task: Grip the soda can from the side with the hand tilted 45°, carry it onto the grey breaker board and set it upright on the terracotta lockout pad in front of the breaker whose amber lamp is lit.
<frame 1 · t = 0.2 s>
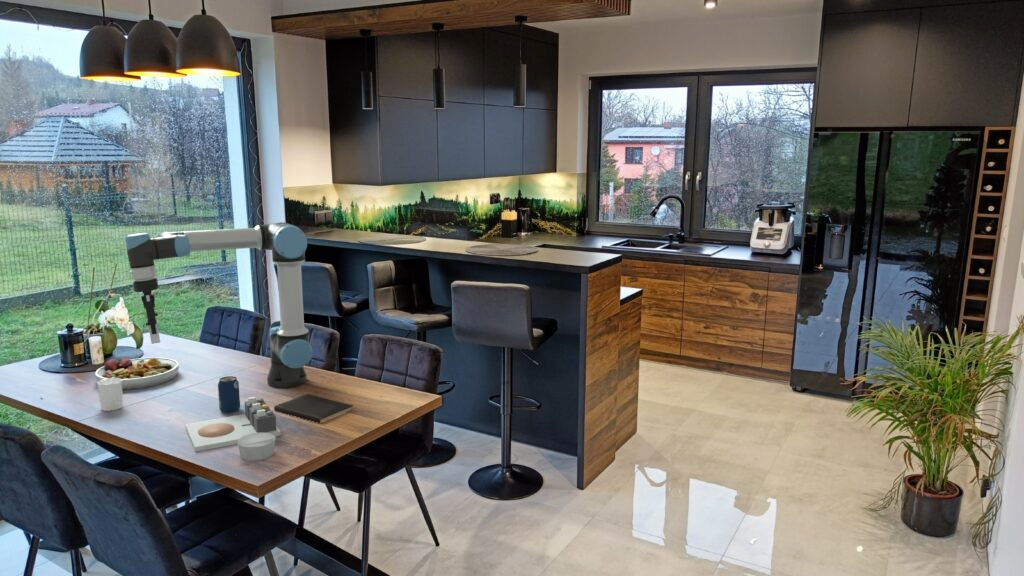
hand: (155, 339, 251), 27 cm above the table, tool pointing down, fingers open, 13 cm apart
bowl: (138, 380, 293), on the table
soda can: (230, 411, 259), on the table
breaker board: (232, 431, 240), on the table
white cup: (112, 408, 261), on the table
ramekin: (257, 456, 222), on the table
hardcover book: (313, 412, 260), on the table
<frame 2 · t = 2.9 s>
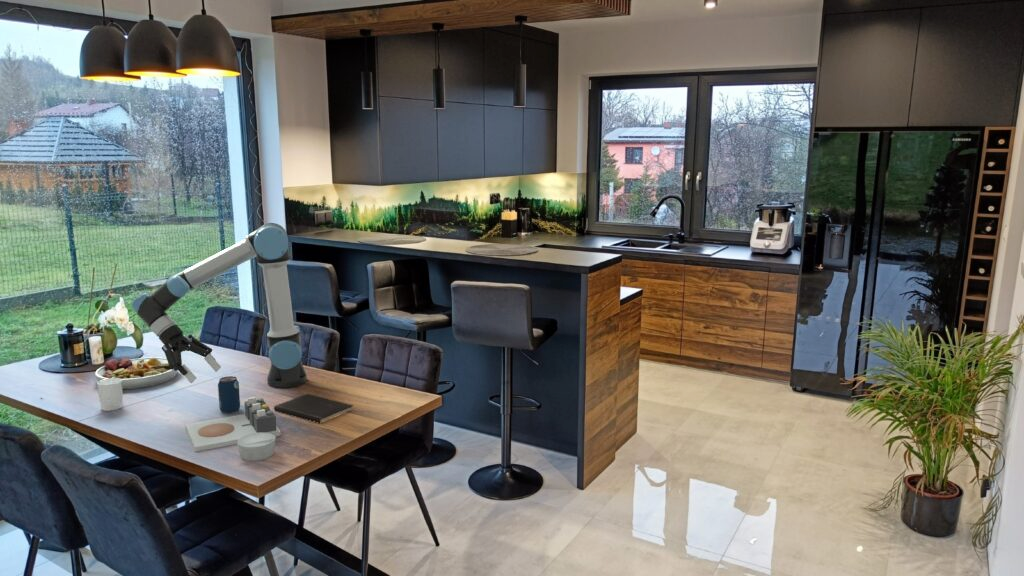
hand: (206, 374, 258), 13 cm above the table, tool tilted 45°, fingers open, 13 cm apart
nothing on the table moved.
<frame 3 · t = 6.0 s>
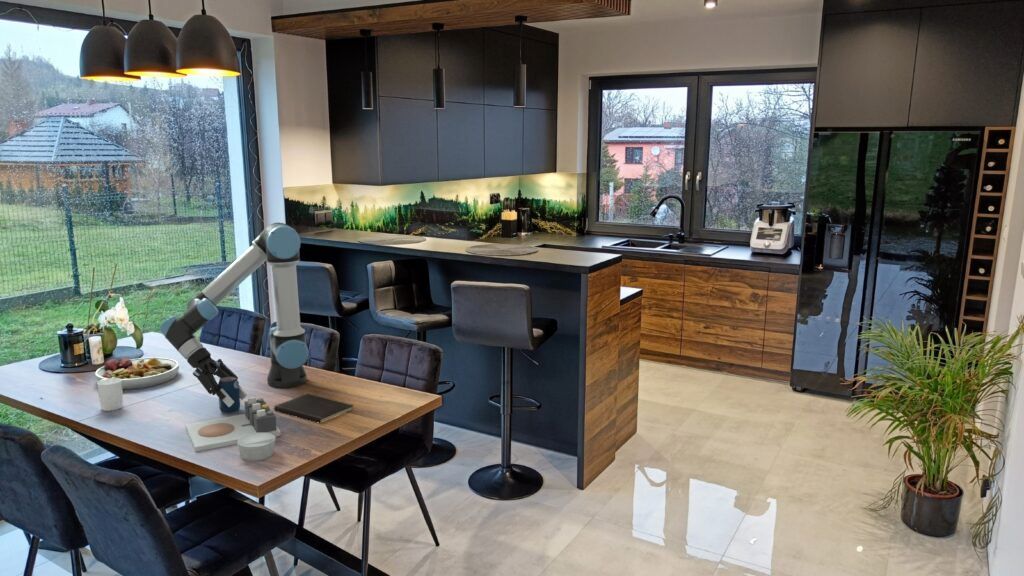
hand: (238, 401, 257), 4 cm above the table, tool tilted 45°, fingers closed on soda can, 7 cm apart
soda can: (230, 411, 259), on the table, touching gripper
everything else where it was.
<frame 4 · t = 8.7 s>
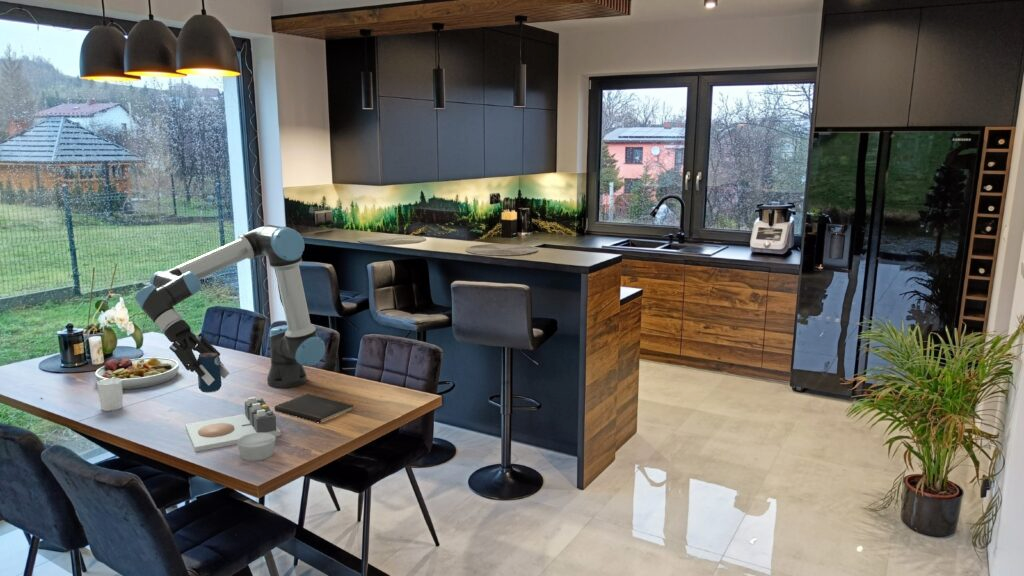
hand: (219, 379, 234), 19 cm above the table, tool tilted 45°, fingers closed on soda can, 7 cm apart
soda can: (210, 390, 236), point 15 cm above the table, touching gripper
everything else where it was.
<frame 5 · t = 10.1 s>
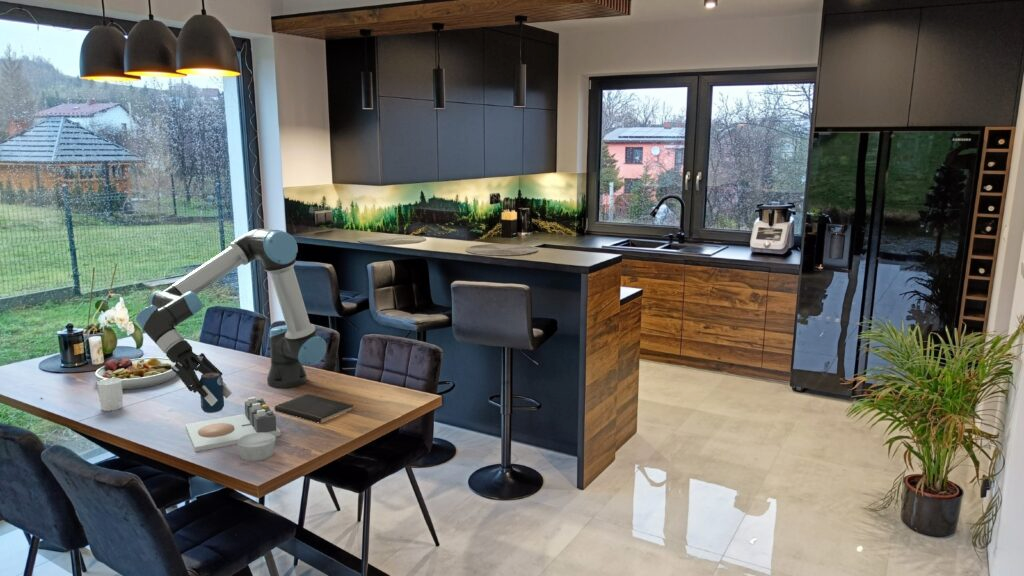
hand: (222, 399, 234), 13 cm above the table, tool tilted 45°, fingers closed on soda can, 7 cm apart
soda can: (213, 410, 235), point 8 cm above the table, touching gripper
everything else where it was.
when the fingers open (7 cm above the table, at t = 11.5 s): soda can stays where it is, resting on breaker board.
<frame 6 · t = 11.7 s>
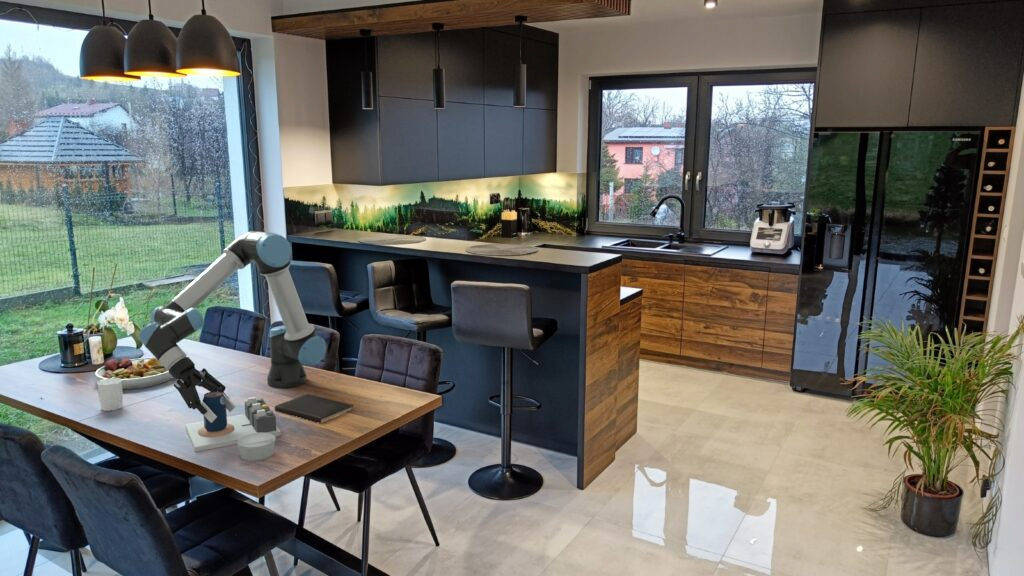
hand: (223, 414, 235), 7 cm above the table, tool tilted 45°, fingers open, 9 cm apart
soda can: (216, 429, 237), point 2 cm above the table, touching breaker board
everything else where it was.
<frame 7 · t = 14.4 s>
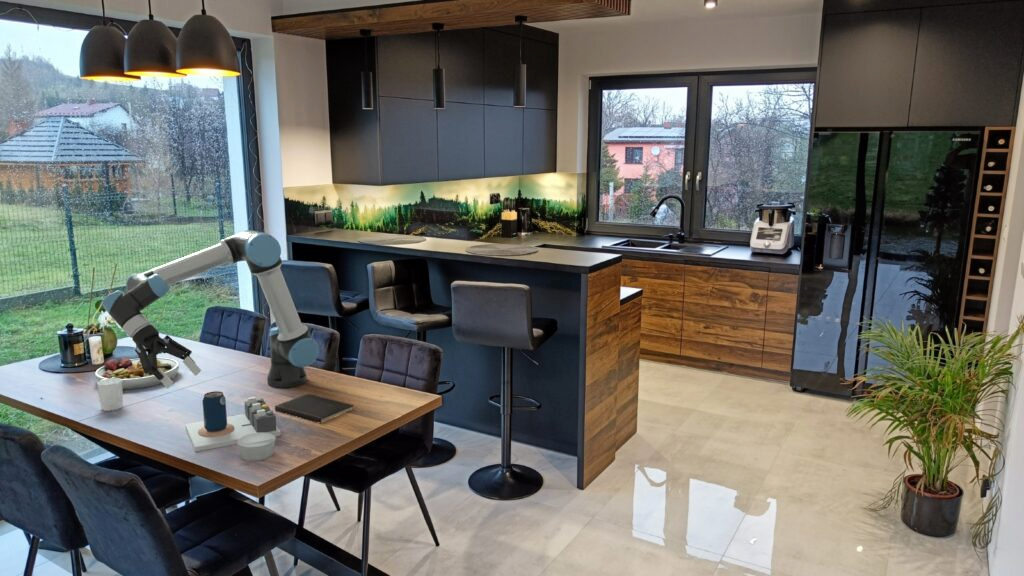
hand: (184, 379, 236), 18 cm above the table, tool tilted 45°, fingers open, 13 cm apart
nothing on the table moved.
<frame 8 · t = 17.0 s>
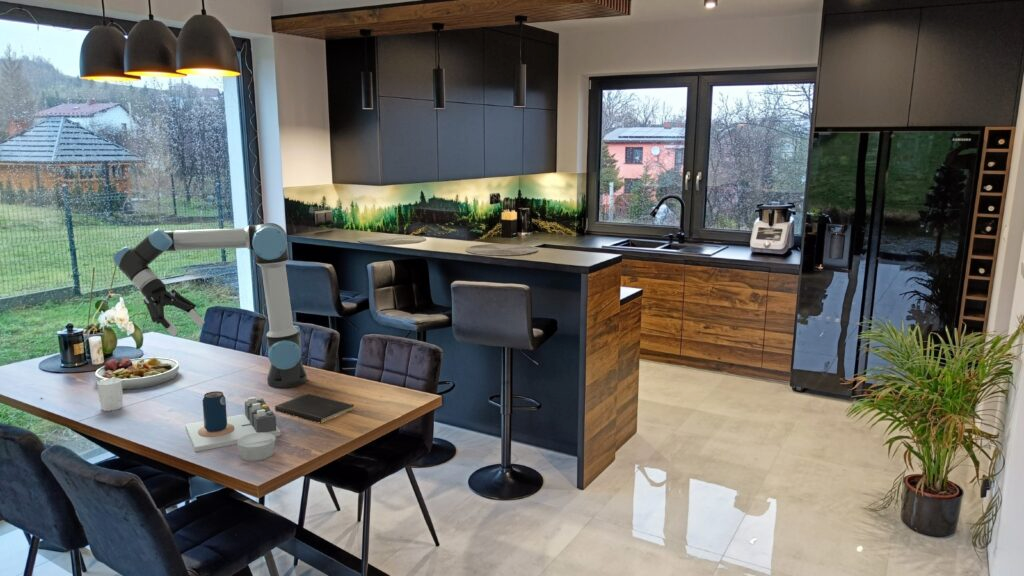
hand: (189, 329, 254), 30 cm above the table, tool tilted 45°, fingers open, 13 cm apart
nothing on the table moved.
at the end: soda can inside the target area on the breaker board (0.2 cm from its centre), point 1.7 cm above the breaker board's base; soda can tilted 0°; the gripper is holding nothing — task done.
